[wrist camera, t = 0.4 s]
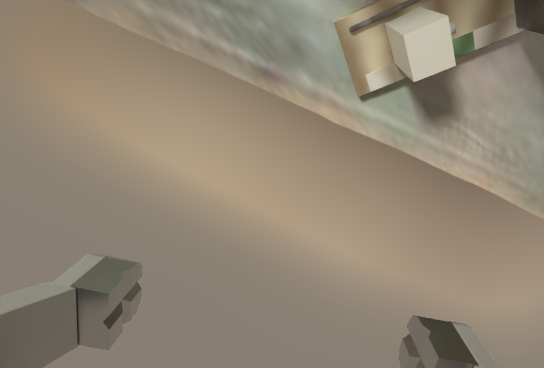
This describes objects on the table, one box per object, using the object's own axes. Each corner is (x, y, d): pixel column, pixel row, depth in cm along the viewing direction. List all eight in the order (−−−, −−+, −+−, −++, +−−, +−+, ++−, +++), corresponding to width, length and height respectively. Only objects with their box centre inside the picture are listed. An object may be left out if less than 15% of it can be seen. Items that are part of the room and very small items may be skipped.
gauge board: (357, 93, 54) (359, 98, 52) (333, 21, 48) (335, 23, 46) (533, 22, 46) (543, 25, 44) (530, -73, 41) (542, -76, 39)
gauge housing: (398, 78, 50) (418, 100, 42) (384, 23, 46) (403, 35, 38) (446, 59, 48) (476, 78, 40) (436, 0, 44) (467, 7, 36)
